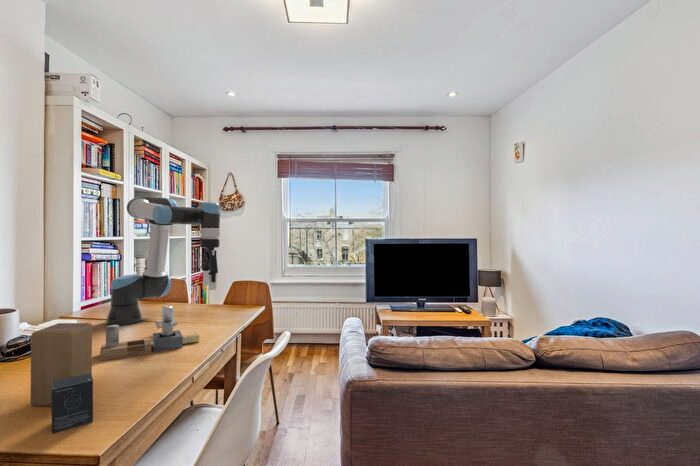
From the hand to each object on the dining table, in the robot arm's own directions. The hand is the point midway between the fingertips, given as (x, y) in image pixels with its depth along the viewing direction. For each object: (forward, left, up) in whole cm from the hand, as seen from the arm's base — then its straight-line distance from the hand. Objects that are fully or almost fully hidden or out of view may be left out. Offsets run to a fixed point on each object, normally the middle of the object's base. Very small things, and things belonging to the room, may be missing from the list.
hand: (209, 287), depth 150 cm
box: (+51, -41, -23) cm, 69 cm away
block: (+34, -45, -23) cm, 61 cm away
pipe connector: (-17, -15, -23) cm, 32 cm away
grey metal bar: (0, -16, -23) cm, 28 cm away
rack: (+2, -31, -23) cm, 38 cm away
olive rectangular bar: (0, -8, -22) cm, 24 cm away
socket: (0, -16, -23) cm, 28 cm away
